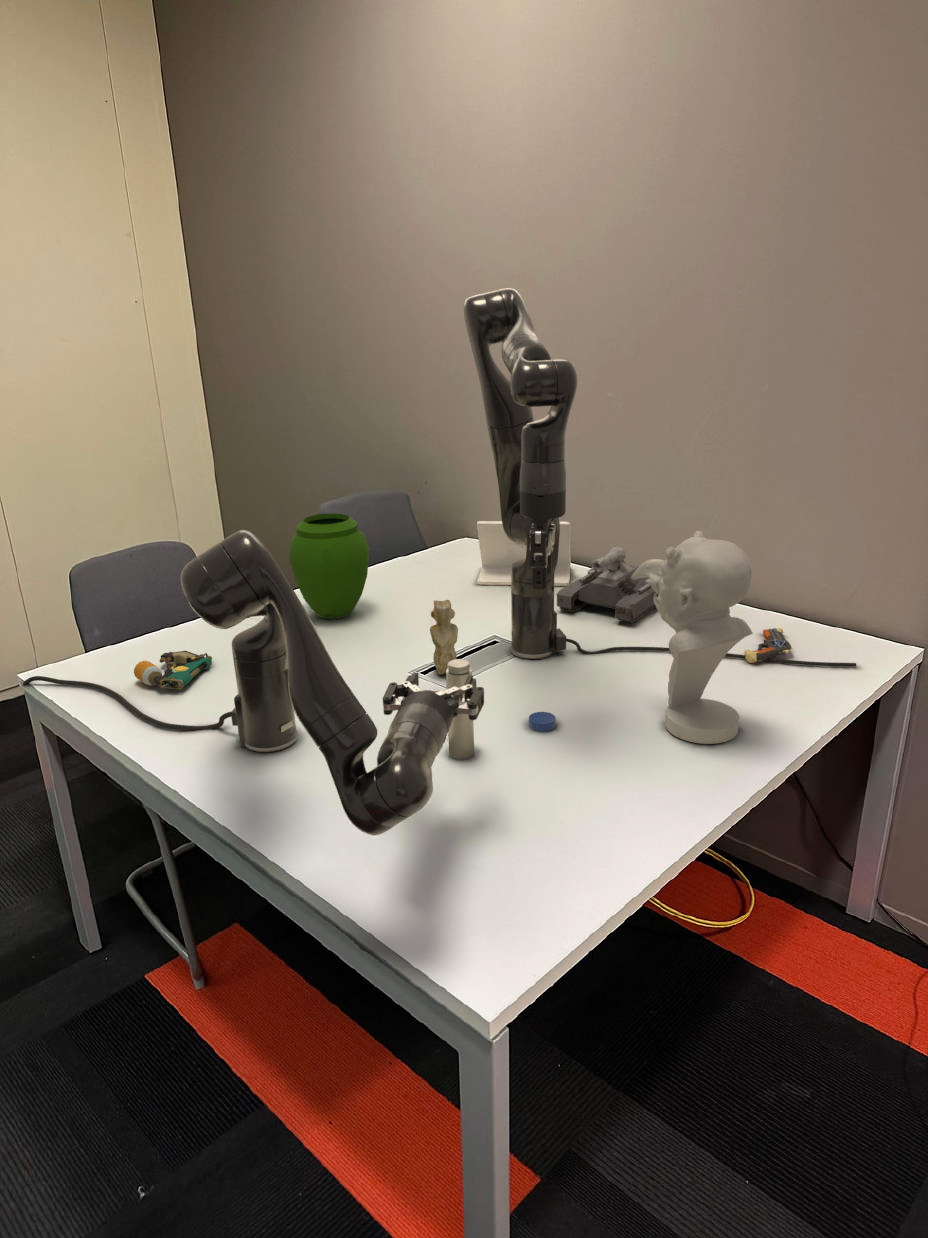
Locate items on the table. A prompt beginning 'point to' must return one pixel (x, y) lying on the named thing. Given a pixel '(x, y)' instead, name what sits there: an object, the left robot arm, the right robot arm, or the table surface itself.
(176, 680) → the spray gun
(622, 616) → the toy
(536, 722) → the lid
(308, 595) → the vase
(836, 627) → the table surface
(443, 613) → the sculpture
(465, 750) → the jar
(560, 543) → the tablet stand
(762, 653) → the toy gun
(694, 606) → the bust sculpture
